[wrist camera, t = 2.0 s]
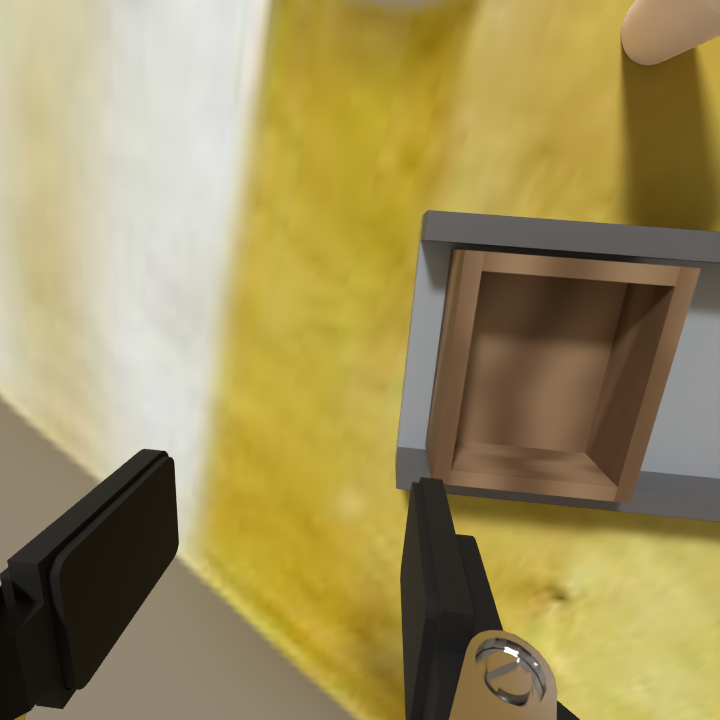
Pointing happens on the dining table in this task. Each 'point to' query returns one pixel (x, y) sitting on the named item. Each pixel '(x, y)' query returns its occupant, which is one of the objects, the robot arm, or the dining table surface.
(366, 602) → the dining table surface
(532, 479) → the box
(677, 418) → the bay
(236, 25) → the dining table surface
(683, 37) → the smoothie
